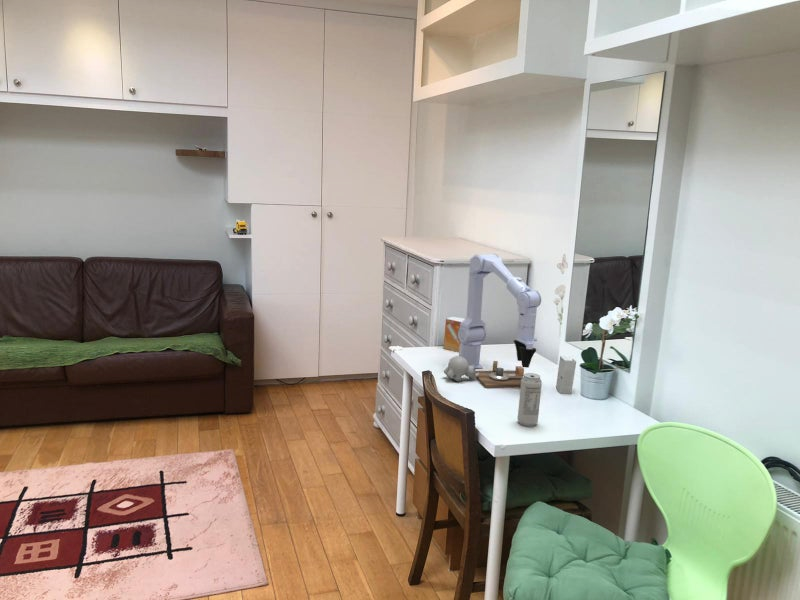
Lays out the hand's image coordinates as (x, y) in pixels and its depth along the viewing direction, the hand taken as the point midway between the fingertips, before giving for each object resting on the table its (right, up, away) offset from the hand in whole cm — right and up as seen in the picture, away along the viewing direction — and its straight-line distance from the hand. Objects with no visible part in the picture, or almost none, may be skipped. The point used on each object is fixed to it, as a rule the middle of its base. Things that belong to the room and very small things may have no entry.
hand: (523, 363), depth 234 cm
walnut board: (-7, -7, +8) cm, 13 cm away
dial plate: (-5, -6, +7) cm, 10 cm away
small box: (-20, +1, +47) cm, 51 cm away
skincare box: (+14, -10, +1) cm, 17 cm away
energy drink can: (-4, -15, -31) cm, 35 cm away
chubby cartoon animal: (-21, -7, +7) cm, 23 cm away
